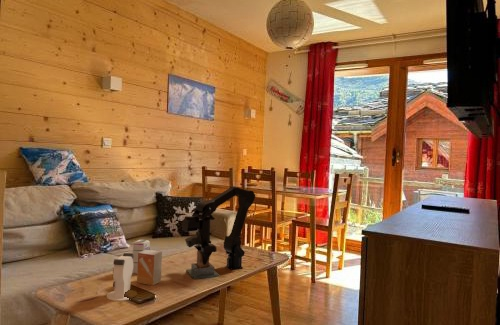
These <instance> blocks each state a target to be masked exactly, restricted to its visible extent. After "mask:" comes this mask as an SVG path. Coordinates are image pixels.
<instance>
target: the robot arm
mask: <svg viewBox="0 0 500 325" xmlns="http://www.w3.org/2000/svg"><path fill="white" fill-rule="evenodd" d="M233 197H237V202H238V208H237V210H236V211H237V212H236V215H235V219H234V220H233V225H232V229H231V231H230V233H229V235H226V236H225V237H224V241H223V243H222V244H223V249H224V251H225V253H226V255H227V258H226V265H225V266H226V267H227V268H228V269H230V270H240V269H243V268H244V266H242V263H243V261H242V260H243V257H244V256H245V252H246V251H244V250H243V248H242V239H241V235H242V231H243V228H244V225H245V222H246V218H247V214H248V211H249V208H250V207H251V206H252V205H253V203H254V201H255V199H256V194H255V191H253V190H249V189H243V188H240V187H239V186H233V185H232V186H230V187H229V188H227V189H226V190H224V191H223V192H220V193H219V194H218V195H216V196H214V197H213V198H211V199H206V200H203V201H201V202H199V203H198V204H197V205H196V209H195V210H194V211H193V213H192V214H191V216H186V215H185V216H184V219H183V220H182V222H181V228H182V231H183V232H184V233H187V232H195V234H194V235H191V236H189V237H186V238H185V239H184V241H185V243H186V246H187V247H188V248H192V247H194V248H195V249H196V250H197V251H200V252H201V253H202V257H203V264H204V265H205V264H206V263H207V261H208V259H209V260H210V257H211V255H212V253H217V249H218V248H217V246H216V245H214V244H213V243H212V241H211V235H213V234H212V232H211V221H213V220H215V217H214V216H213V213H215V212H216V210H217V209H218V207H220V206H221V205H223V204H224V203H226V202H228V201H229V200H232V198H233Z"/></svg>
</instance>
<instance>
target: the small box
mask: <svg viewBox="0 0 500 325" xmlns="http://www.w3.org/2000/svg"><path fill="white" fill-rule="evenodd" d="M162 258H163V251H162V250H161V251H158V250H155V249H154V250H152V249H150V250H144V251H141V252H139V253H138V270H137V275H136V276H137V277H136V283H137V284H144V285H149V286H155V285H156V284H159V283H160V282H162V262H163V260H162Z"/></svg>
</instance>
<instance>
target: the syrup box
mask: <svg viewBox="0 0 500 325" xmlns="http://www.w3.org/2000/svg"><path fill="white" fill-rule="evenodd" d="M150 247H151V241H150V240H148V239H138V240H136V241H132V253H133V255H134V257H133V272H132V274H137V270H138V253H139V252H141V251H144V250H151V248H150Z"/></svg>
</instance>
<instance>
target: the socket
mask: <svg viewBox="0 0 500 325" xmlns="http://www.w3.org/2000/svg"><path fill="white" fill-rule="evenodd" d="M190 265H191V268H189V269H188V268H187V269H186V273H187V274H188V275H189V276H190V277H191V278H192V279H193V280H198V279H209V278H216V277H217V278H218V277H220V274H219V273H218V272H217V271H215V266H214V265H213V264H211V263H210V262H209V267H201V268H198V267H197V262H196V263H195V262H194V263H191V264H190Z"/></svg>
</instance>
